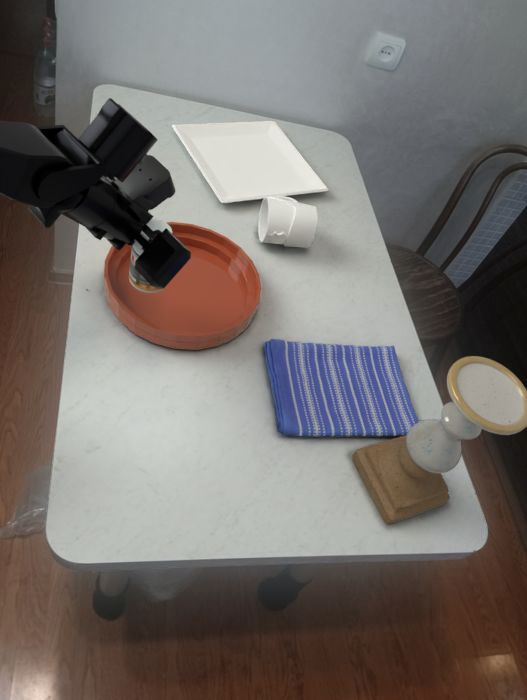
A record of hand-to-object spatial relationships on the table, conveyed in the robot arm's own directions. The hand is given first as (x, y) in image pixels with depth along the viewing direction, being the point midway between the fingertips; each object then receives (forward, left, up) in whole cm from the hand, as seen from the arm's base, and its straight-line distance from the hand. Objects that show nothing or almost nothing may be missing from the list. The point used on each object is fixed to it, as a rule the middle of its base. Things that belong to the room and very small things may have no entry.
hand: (160, 245), depth 76 cm
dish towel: (+29, -15, -13) cm, 35 cm away
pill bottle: (-1, -1, -7) cm, 7 cm away
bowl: (+5, +4, -13) cm, 15 cm away
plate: (+21, +43, -13) cm, 50 cm away
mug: (+25, +21, -13) cm, 35 cm away
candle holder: (+35, -30, -13) cm, 48 cm away
